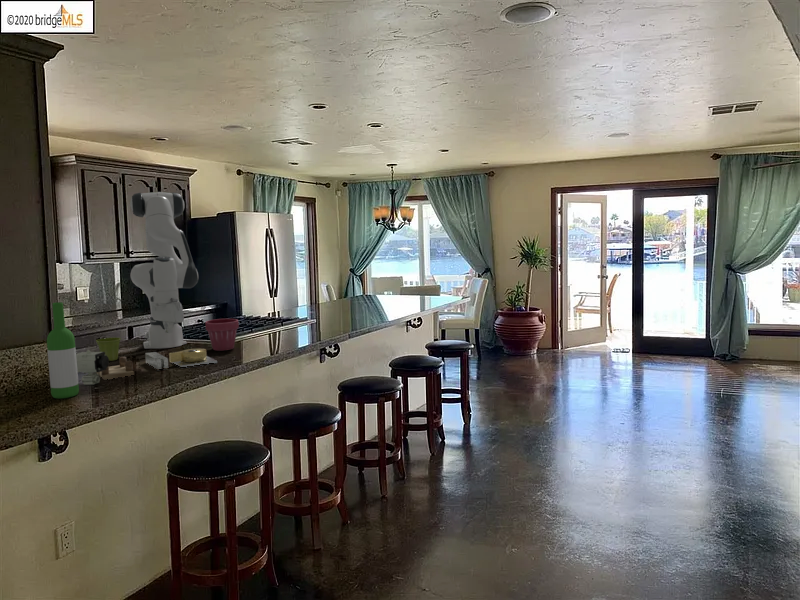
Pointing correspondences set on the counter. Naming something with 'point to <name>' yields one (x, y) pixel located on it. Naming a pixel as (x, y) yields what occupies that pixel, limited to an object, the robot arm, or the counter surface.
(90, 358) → the pneumatic valve
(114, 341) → the plant pot
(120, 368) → the rack
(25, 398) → the counter surface
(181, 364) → the nut base
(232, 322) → the plant pot
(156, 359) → the white bar
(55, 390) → the wine bottle
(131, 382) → the counter surface
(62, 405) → the counter surface
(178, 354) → the ring nut
